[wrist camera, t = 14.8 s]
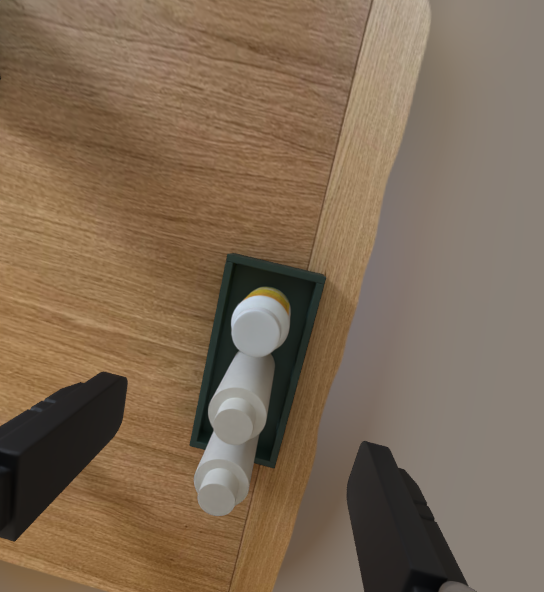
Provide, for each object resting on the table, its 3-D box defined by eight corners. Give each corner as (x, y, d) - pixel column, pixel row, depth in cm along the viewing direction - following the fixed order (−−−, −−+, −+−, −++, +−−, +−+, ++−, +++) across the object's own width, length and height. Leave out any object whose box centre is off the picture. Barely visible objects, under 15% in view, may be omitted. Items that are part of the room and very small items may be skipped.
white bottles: (238, 340, 33) (208, 390, 21) (279, 350, 33) (271, 407, 21) (218, 428, 35) (182, 516, 24) (257, 438, 35) (239, 531, 23)
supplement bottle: (293, 329, 32) (292, 364, 22) (247, 333, 32) (228, 369, 23) (287, 283, 31) (285, 299, 22) (241, 288, 32) (218, 306, 22)
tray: (233, 252, 32) (227, 253, 29) (323, 274, 32) (326, 277, 29) (197, 429, 36) (189, 446, 33) (276, 450, 36) (274, 468, 33)
